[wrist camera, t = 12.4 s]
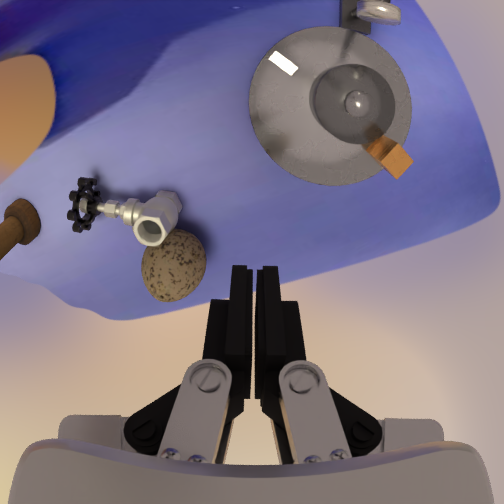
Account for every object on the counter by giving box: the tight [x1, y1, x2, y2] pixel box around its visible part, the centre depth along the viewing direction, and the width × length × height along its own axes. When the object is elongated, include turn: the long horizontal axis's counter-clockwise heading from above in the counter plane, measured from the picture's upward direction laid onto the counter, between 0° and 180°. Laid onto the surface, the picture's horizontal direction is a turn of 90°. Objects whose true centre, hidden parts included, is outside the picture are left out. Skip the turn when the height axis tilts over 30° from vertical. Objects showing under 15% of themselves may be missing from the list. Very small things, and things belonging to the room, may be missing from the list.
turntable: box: [249, 26, 414, 186], centre depth 23 cm, size 16×16×6 cm
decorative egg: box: [141, 229, 206, 302], centre depth 32 cm, size 7×7×10 cm
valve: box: [67, 177, 182, 247], centre depth 30 cm, size 7×7×12 cm
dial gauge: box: [339, 0, 401, 35], centre depth 17 cm, size 4×4×9 cm
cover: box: [309, 64, 395, 144], centre depth 22 cm, size 7×7×4 cm
